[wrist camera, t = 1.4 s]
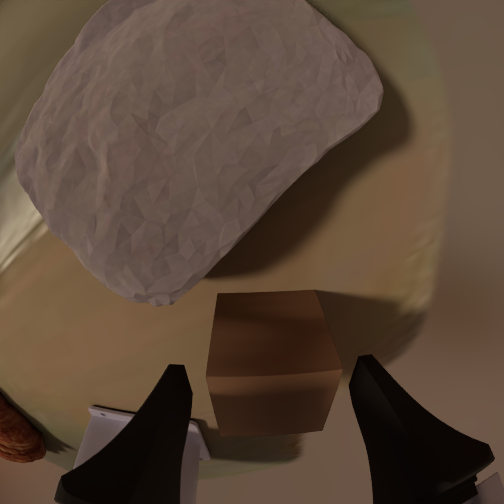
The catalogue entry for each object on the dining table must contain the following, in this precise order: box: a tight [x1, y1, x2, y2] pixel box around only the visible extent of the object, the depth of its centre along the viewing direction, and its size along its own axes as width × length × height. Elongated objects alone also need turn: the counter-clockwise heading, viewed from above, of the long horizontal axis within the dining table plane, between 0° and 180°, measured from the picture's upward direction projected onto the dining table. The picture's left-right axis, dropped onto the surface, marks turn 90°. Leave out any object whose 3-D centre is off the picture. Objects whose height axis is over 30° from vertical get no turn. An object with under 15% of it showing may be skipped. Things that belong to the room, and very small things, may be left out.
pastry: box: [0, 392, 46, 463], centre depth 19 cm, size 17×15×8 cm
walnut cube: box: [206, 290, 343, 436], centre depth 11 cm, size 4×4×5 cm
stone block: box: [15, 0, 384, 307], centre depth 8 cm, size 12×5×10 cm
